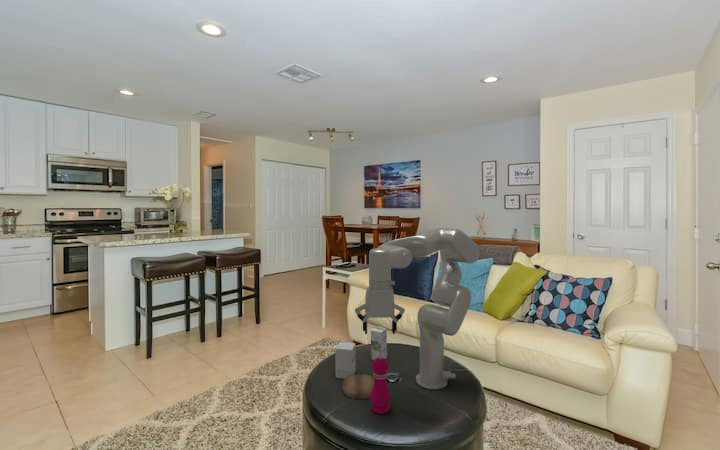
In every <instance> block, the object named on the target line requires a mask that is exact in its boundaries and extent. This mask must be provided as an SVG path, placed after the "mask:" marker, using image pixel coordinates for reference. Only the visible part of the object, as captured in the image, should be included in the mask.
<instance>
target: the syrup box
mask: <svg viewBox="0 0 720 450" xmlns="http://www.w3.org/2000/svg"><path fill="white" fill-rule="evenodd" d="M387 330H388V329H387V327H386V328H385V327H381V326H378V325H377V326H374V327H372V328H371V329H370V360H371V361H373V360H374V359H376V358H378V355H379V354H382V355H383V358H385V359H386V360H387V358H388V352H387V351H388V348H387V347H388V346H387V345H388V341H387V340H388V339H387V338H388V336H387V335H388V334H387V333H388V331H387Z"/></svg>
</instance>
